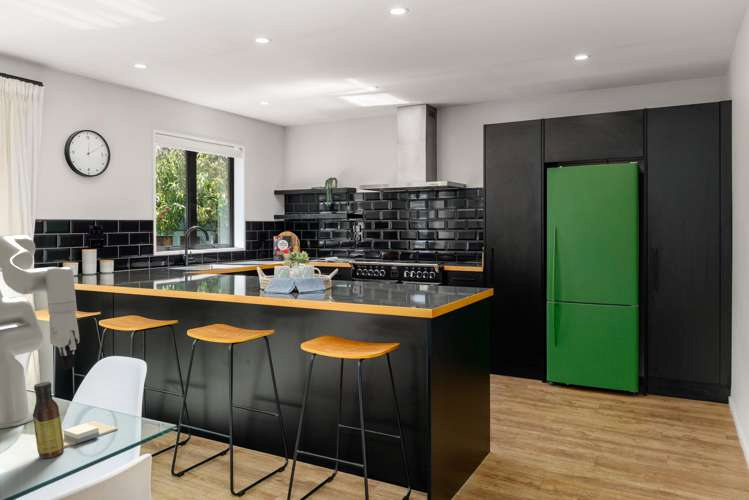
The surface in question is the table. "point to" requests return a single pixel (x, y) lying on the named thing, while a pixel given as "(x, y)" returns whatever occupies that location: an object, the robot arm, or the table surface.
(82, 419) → the table surface
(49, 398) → the sauce bottle
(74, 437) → the tile
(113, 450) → the table surface
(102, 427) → the mat
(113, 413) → the table surface
